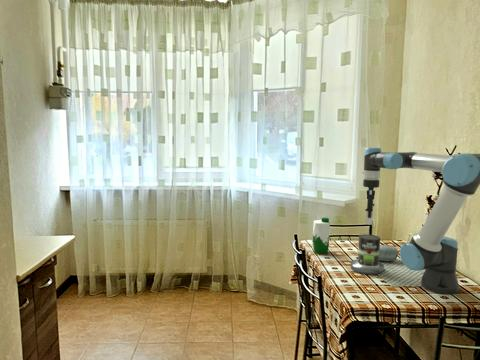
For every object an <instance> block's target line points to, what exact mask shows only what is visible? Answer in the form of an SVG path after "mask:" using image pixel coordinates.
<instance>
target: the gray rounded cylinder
mask: <svg viewBox="0 0 480 360" xmlns="http://www.w3.org/2000/svg"><path fill="white" fill-rule="evenodd" d="M398 256H399V251H398V249H397V247H395V246H392V245H385V244H380V249H379V262H394V261H396V260H397V259H398Z"/></svg>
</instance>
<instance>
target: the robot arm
mask: <svg viewBox="0 0 480 360" xmlns="http://www.w3.org/2000/svg"><path fill="white" fill-rule="evenodd" d="M363 157H364V158H363V171H362V174H363V180H362V181H363V183H362V186H363V187H364V188H368V189H367V190H366V199H367V204H366V205H367V206H366V207H367V208H365V212H366V216H365V217H366V221H365V225H371V226H372V225H373V218H374V217H373V216H374V214H373V213H374V207H375V203H374V200H375V195H376V190H374V189H377V188H380V179H381V169H387V170H399V169H413V170H422V171H430V172H435V173H436V172H437V173H442V177H443V179H442V184H443V188H442V190H441V191H440V193H439V195H438V197H437V198H436V201H435V203H434V205H433V207H432V208H431V211H430V212H429V214H428V216H427V218H426V219H425V220H424V221H425V222H424V223H423V225H422V227H421V228H420V230H419V232H416V233H414V234H413V235H412V237H411V239H410V241H409V242H405V243H403V244H402V245H401V247H400V249H399V256H400V260H401V262H402V263H403V266H405V267H406V268H407V269H409V270H410V271H423V270H424V272H423V274H422V277H421V279H420V286H421V287H422V288H423V289H425V290H427V291H429V292H432V293H437V294H442V295H454V294H455V295H456V294H458V293H459V291H460V284H459V281H458V277H457V263H458V261H457V260H458V250H459V247H458V246H459V245H458V244H459V242H458V241H457V239H455V238H453V237H449V236H445V235H446V234H447V232H448V230H449V229H450V227H451V225H452V223H453V222H454V221H455V218H456V217H457V215H458V213H459V211H461V208H462V207H463V205H464V203H465V201H466V200H467V198H468V197H470V196H473V195H475V193H476V192H477V190H478V188H479V187H480V153H467V152H466V153H465V152H464V153H459V154H455V155H450V154H449V155H448V154H446V155H445V154H435V153H423V152H422V153H421V152H415V151H406V152H401V151H399V152H397V151H395V152H387V151H385V152H384V151H382V149H381V147H366V148H365V150H364V156H363Z"/></svg>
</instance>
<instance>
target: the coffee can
mask: <svg viewBox="0 0 480 360" xmlns="http://www.w3.org/2000/svg"><path fill="white" fill-rule="evenodd" d="M380 245H381V237H380V236H378V235H374V234H369V233H367V234H365V233H364V234H359V235H358V248H357V249H358V251H357V260H358V262H357V263H358V264H359V265H361V266H364V267H378V266H379V263H380V261H379V249H380Z"/></svg>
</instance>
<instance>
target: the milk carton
mask: <svg viewBox="0 0 480 360" xmlns="http://www.w3.org/2000/svg"><path fill="white" fill-rule="evenodd" d="M330 224H331V223H330V218H329V217H321V219H319V220H316V219H315V220H313V226H312V227H313V228H312V229H313V230H312V247H313V251H314V254H316V255H319V254H320V255H328V254H329V247H330V228H331V227H330Z"/></svg>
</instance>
